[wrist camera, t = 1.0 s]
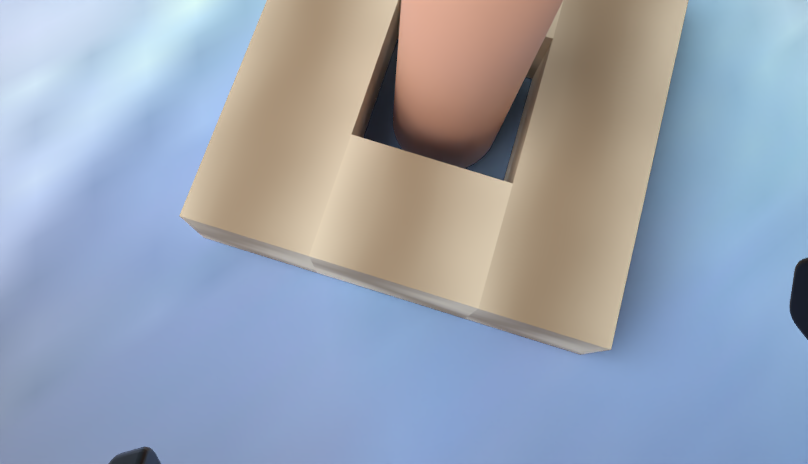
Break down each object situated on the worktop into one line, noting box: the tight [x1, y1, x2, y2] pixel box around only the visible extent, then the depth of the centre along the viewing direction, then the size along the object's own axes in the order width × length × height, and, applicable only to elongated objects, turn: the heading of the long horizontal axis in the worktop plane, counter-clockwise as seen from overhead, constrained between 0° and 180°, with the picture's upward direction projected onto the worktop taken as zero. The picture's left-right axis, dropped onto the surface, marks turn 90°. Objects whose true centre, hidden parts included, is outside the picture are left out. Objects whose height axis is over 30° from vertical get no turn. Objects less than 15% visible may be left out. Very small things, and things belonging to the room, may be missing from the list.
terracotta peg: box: [393, 0, 563, 168], centre depth 19 cm, size 4×4×12 cm
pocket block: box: [180, 0, 688, 354], centre depth 23 cm, size 14×14×3 cm
